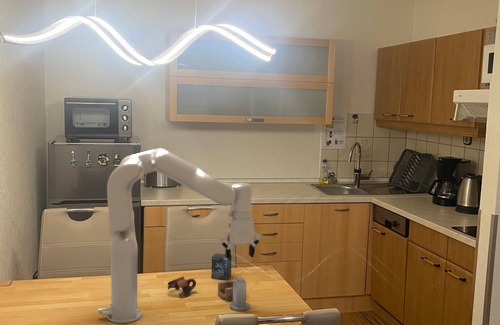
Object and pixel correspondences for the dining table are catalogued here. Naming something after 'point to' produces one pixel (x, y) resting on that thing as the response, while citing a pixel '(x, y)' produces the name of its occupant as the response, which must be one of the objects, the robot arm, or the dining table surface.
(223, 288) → the cradle
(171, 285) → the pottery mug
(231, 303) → the disc
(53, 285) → the dining table surface
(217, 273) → the box
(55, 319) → the dining table surface
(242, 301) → the pin
